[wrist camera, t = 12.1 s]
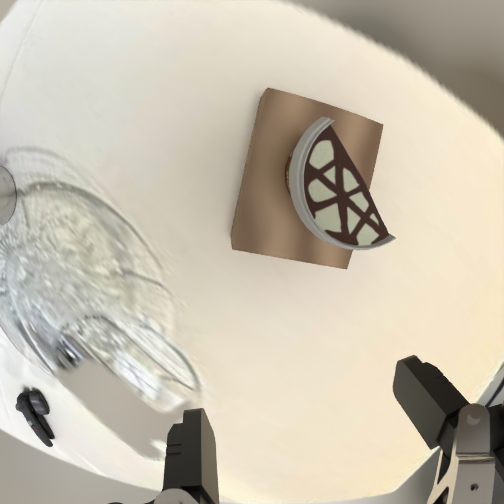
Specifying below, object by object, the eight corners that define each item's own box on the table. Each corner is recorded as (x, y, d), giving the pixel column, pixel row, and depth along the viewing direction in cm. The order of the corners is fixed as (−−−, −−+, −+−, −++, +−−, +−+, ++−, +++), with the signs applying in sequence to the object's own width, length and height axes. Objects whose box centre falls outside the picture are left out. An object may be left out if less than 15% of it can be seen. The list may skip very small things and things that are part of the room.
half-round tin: (250, 155, 31) (262, 155, 21) (298, 125, 30) (330, 113, 21) (310, 248, 34) (342, 283, 25) (353, 219, 34) (398, 243, 24)
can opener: (18, 380, 43) (6, 397, 38) (44, 389, 44) (33, 407, 39) (40, 433, 48) (33, 449, 43) (64, 441, 49) (58, 458, 44)
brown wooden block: (230, 235, 39) (232, 249, 33) (260, 97, 34) (267, 87, 29) (330, 254, 41) (346, 269, 36) (361, 127, 36) (383, 124, 31)
